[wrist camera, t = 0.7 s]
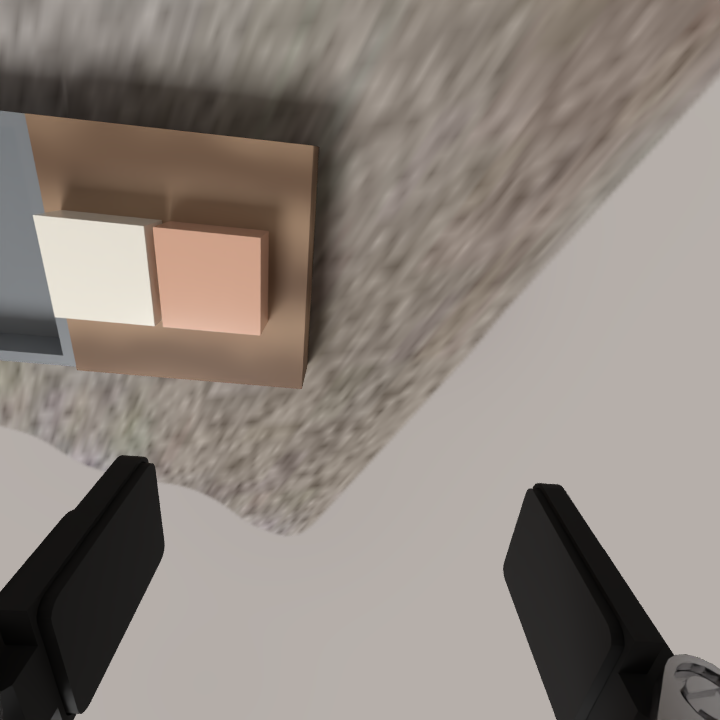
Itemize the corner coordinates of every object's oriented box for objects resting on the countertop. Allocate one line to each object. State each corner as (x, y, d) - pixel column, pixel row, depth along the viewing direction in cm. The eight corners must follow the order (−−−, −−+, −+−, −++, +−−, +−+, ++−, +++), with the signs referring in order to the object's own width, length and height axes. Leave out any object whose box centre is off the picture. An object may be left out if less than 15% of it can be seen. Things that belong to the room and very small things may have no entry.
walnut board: (68, 119, 27) (24, 113, 24) (319, 147, 28) (313, 145, 25) (106, 347, 34) (77, 370, 31) (307, 364, 35) (301, 388, 31)
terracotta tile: (170, 220, 26) (152, 227, 24) (268, 231, 27) (260, 237, 24) (178, 313, 29) (163, 326, 27) (267, 321, 29) (260, 335, 27)
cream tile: (60, 209, 26) (32, 214, 24) (161, 220, 26) (143, 226, 24) (78, 304, 28) (54, 317, 26) (170, 312, 29) (154, 326, 27)
